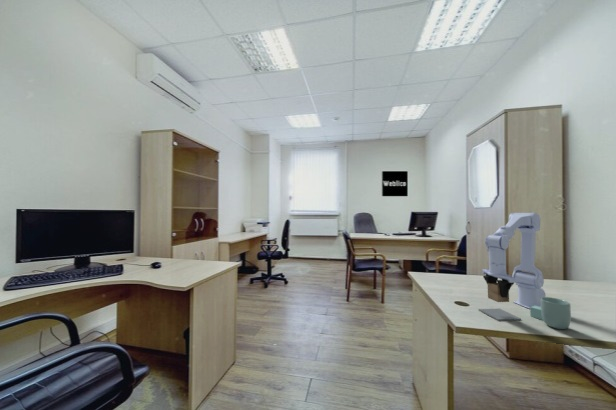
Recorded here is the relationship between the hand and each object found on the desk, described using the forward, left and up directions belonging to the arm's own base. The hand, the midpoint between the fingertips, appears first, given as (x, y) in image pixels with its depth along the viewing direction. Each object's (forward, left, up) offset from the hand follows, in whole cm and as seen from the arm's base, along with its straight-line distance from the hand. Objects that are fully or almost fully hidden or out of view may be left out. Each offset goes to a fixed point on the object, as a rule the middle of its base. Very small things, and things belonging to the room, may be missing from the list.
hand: (498, 294), depth 100 cm
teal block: (-15, +3, -9) cm, 18 cm away
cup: (-13, +11, -9) cm, 19 cm away
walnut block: (0, 0, -2) cm, 2 cm away
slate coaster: (0, 0, -9) cm, 9 cm away
